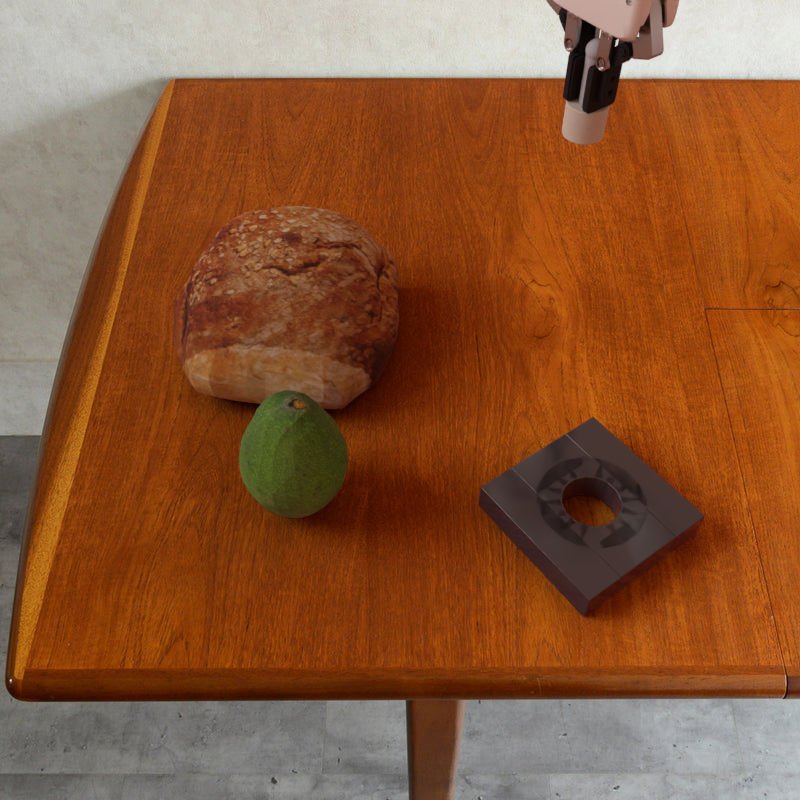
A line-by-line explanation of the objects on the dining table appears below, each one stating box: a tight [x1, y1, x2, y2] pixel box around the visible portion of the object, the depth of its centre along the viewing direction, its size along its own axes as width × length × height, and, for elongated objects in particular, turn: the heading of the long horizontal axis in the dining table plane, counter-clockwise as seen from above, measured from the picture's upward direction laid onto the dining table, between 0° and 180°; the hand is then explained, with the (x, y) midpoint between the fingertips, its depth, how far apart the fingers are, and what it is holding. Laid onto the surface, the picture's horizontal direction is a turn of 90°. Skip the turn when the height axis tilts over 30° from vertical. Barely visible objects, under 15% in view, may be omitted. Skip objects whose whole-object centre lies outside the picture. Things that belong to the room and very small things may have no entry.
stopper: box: [561, 37, 611, 146], centre depth 73 cm, size 4×4×8 cm
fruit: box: [238, 390, 349, 519], centre depth 67 cm, size 8×8×12 cm
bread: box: [172, 205, 400, 410], centre depth 78 cm, size 20×18×10 cm
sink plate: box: [478, 416, 705, 618], centre depth 69 cm, size 12×12×2 cm
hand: (588, 100), depth 74 cm, fingers closed on stopper, 1 cm apart
